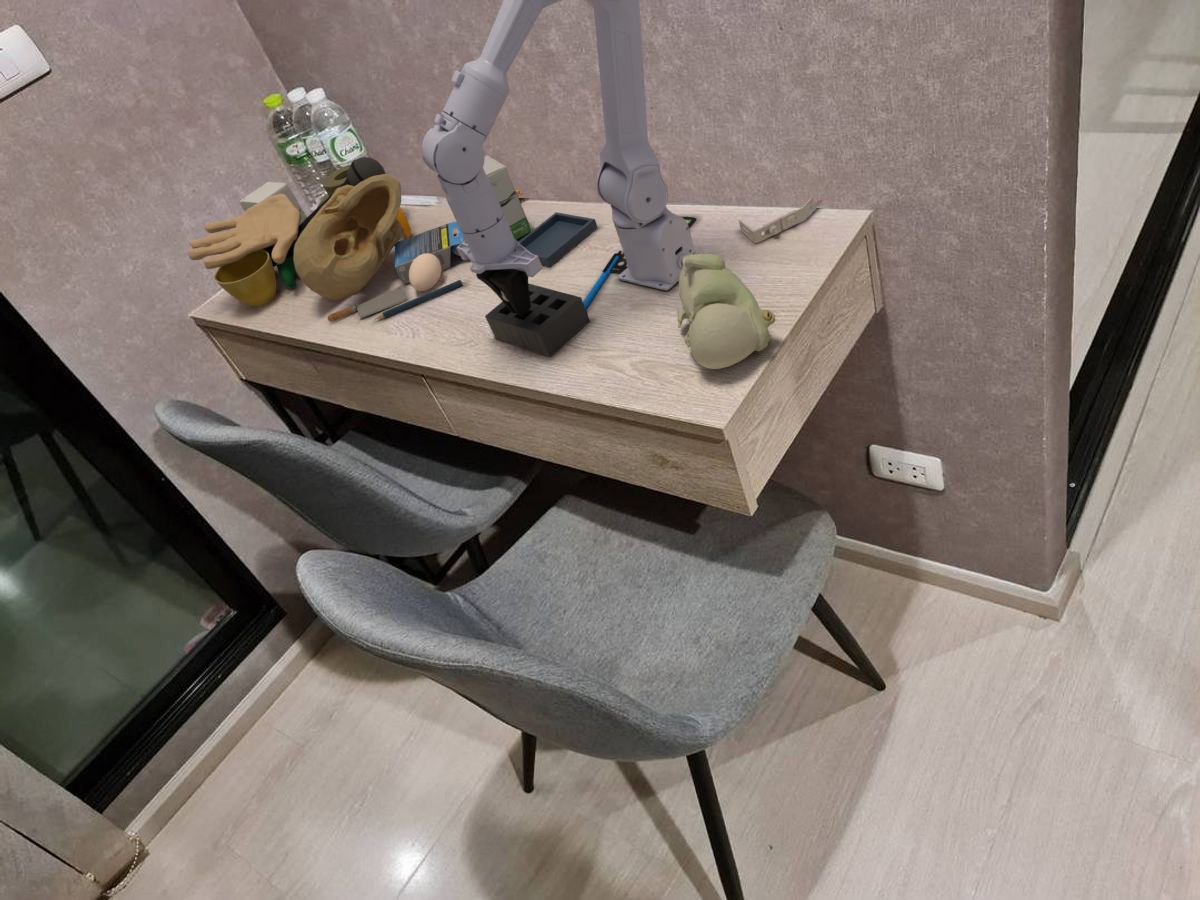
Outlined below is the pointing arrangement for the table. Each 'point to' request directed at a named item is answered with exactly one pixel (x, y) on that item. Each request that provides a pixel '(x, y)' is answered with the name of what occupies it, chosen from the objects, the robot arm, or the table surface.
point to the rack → (540, 321)
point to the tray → (557, 236)
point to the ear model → (349, 237)
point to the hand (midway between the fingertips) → (521, 309)
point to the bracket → (780, 222)
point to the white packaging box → (271, 190)
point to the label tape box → (426, 248)
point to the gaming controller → (288, 272)
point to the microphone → (351, 180)
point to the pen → (601, 279)
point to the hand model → (250, 233)
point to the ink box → (507, 197)
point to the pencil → (420, 299)
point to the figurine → (720, 313)
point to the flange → (335, 181)
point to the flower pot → (249, 279)
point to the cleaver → (373, 305)
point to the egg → (424, 272)
